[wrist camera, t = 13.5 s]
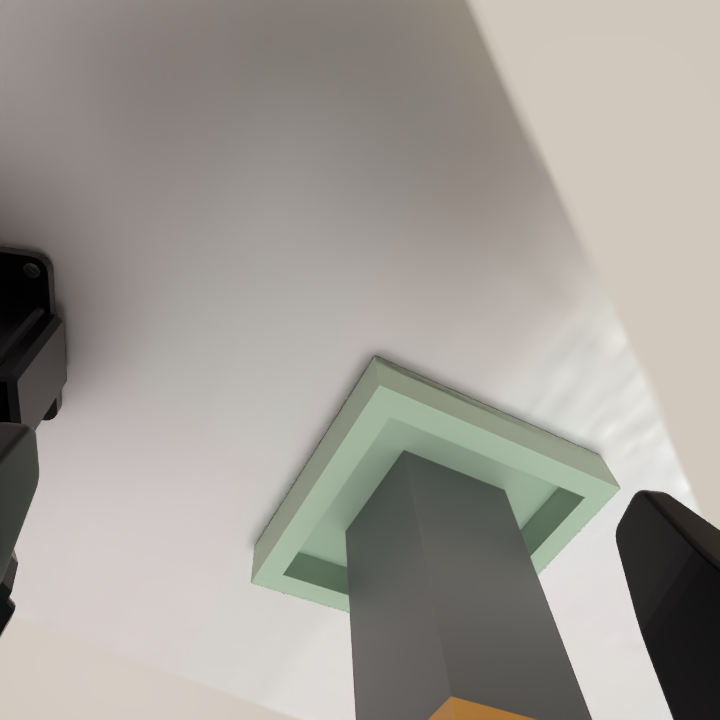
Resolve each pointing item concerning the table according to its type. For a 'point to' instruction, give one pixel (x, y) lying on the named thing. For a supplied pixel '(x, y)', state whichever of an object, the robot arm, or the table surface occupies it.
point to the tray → (438, 444)
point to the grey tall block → (450, 606)
